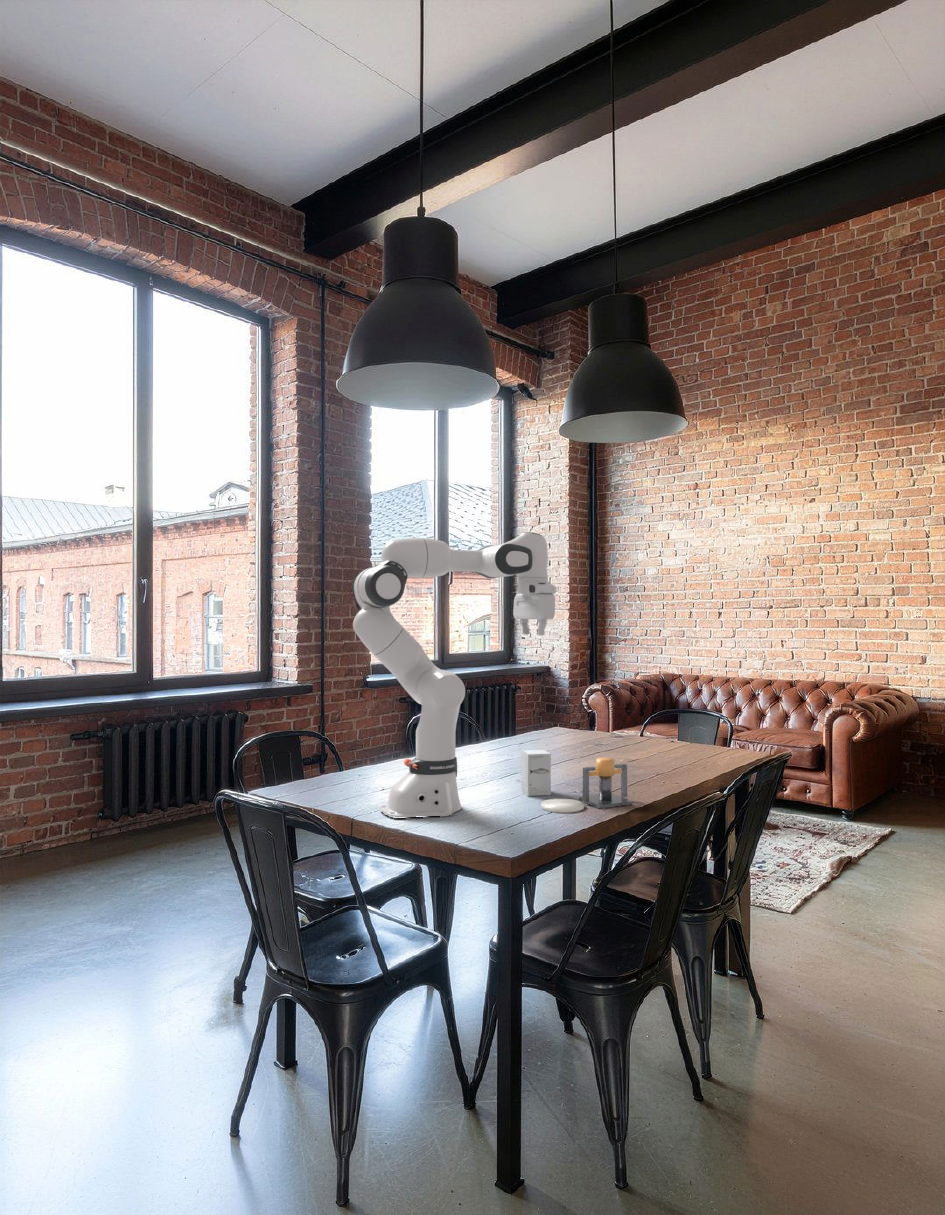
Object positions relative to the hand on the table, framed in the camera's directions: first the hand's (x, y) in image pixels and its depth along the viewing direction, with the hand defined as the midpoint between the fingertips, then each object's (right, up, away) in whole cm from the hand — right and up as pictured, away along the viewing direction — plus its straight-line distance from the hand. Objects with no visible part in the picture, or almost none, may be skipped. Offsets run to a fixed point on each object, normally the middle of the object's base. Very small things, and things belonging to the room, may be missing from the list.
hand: (533, 635), depth 230 cm
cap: (+20, -40, -6) cm, 45 cm away
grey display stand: (+20, -48, -6) cm, 52 cm away
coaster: (+7, -48, -11) cm, 50 cm away
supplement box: (+1, -48, +6) cm, 49 cm away
